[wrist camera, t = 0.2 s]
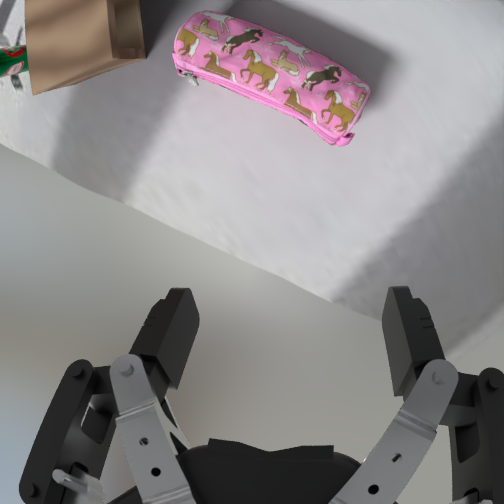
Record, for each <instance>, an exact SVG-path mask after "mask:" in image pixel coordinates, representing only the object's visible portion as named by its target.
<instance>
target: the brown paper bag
mask: <svg viewBox="0 0 504 504" xmlns="http://www.w3.org/2000/svg"><path fill="white" fill-rule="evenodd" d="M25 32H26V46H27V57H28V66H29V74H30V81H31V87H32V93H33V96H34V95H37V94H40V93H42V92H46V91H50V90H53V89H57V88H62V87H66V86H70V85H75V84H78V83H80V82H82V81H85V80H87V79H89V78H92V77H94V76H97V75H100V74H102V73H105V72H108V71H110V70H113V69H116V68H119V67H122V66H125V65H128V64H131V63H134V62H137V61H140V60H144V59H146V53H145V45H144V38H143V30H142V21H141V12H140V2H139V0H25Z"/></svg>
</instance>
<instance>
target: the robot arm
mask: <svg viewBox="0 0 504 504" xmlns="http://www.w3.org/2000/svg"><path fill="white" fill-rule="evenodd" d="M198 327H199V313H198V310H197V307H196V304H195V301H194V298H193V295H192V292H191V290H190V289H189V288H171V289H170V291H169V293H168V295H167V296H166V298H165V299H160V300H159V301H158V302H157V303H156V304H155V305H154V306H153V307H152V309H151V311H150V312H149V315H148V316H147V318H146V320H145V322H144V326H142V328H141V330H140V332H139V334H138V336H137V338H136V340H135V342H134V344H133V346H132V348H131V350H130V352H129V354H125V355H122V356H120V357H118V358H117V359H116V360H115V361H114V362H113V363H112V365H111V366H103V367H93V366H92V364H91V363H90V362H89V361H87V360H84V359H81V360H77V361H75V362H73V363H72V364H71V365H70V366H69V367H68V368H67V370H66V372H65V374H64V376H63V378H62V380H61V382H60V384H59V386H58V389H57V390H56V393H55V395H54V397H53V399H52V401H51V404H50V406H49V408H48V410H47V412H46V415H45V417H44V419H43V422H42V424H41V426H40V429H39V431H38V434H37V436H36V439H35V441H34V444H33V446H32V449H31V452H30V454H29V457H28V460H27V463H26V465H25V468H24V471H23V474H22V477H21V480H20V483H19V493H20V496H21V499H22V500H23V501H24V503H26V504H104V502H103V500H104V499H105V496H106V495H105V492H104V491H103V487H102V484H101V482H100V481H99V480H100V477H101V473H102V470H103V467H104V463H105V460H106V457H107V453H108V450H109V447H110V444H111V441H112V438H113V434H114V432H115V429H116V426H117V428H118V432H119V435H120V439H121V442H122V445H123V449H124V451H125V455H126V458H127V460H128V464H129V466H130V469H131V472H132V475H133V477H134V480H135V483H136V486H134V487H133V488H131V489H130V490H128V491H127V492H125V493H124V494H122V495H120V496H119V497H117V498H116V499H114V500H112V501H111V502H109V503H107V504H398V503H397V502H396V501H395V500H396V499H397V498H398V496H399V495H400V493H401V492H402V491H403V489H404V488H405V486H406V485H407V483H408V482H409V480H410V479H411V477H412V476H413V474H414V473H415V471H416V470H417V468H418V466H419V465H420V463H421V462H422V460H423V458H424V456H425V455H426V453H427V451H428V450H429V448H430V446H431V444H432V443H433V440H434V439H435V437H436V434H437V432H436V429H437V426H438V424H439V425H446V426H448V427H449V435H450V446H451V461H452V485H453V486H452V491H453V495H452V496H453V498H452V502H451V503H450V504H504V374H503V373H502V372H501V371H500V370H498V369H496V368H486V369H484V370H483V371H482V372H481V373H480V375H479V376H477V375H471V374H464V373H460V372H458V371H457V370H456V368H455V367H454V365H453V364H451V363H450V362H448V361H446V359H445V357H444V354H443V350H442V347H441V344H440V341H439V338H438V335H437V332H436V329H435V328H434V323H433V321H432V319H431V315H430V312H429V310H428V307H427V306H426V305H425V304H424V303H423V302H422V300H421V299H420V298H414V299H413V298H412V295H411V292H410V289H409V287H408V286H392V287H389V289H388V293H387V297H386V301H385V306H384V310H383V314H382V328H383V334H384V338H385V343H386V349H387V354H388V360H389V366H390V371H391V378H392V383H393V391H394V396H403V400H404V403H403V405H402V407H401V408H400V410H399V411H398V413H397V415H396V416H395V418H394V419H393V421H392V422H391V424H390V425H389V427H388V428H387V430H386V431H385V433H384V434H383V436H382V437H381V438H380V440H379V441H378V443H377V444H376V445H375V447H374V448H373V449H372V451H371V452H370V453H369V455H368V456H367V457H366V458H365V460H364V461H363V462H362V464H360V463H359V462H358V461H356V460H355V459H353V458H351V457H349V456H347V455H344V454H341V453H338V452H333V450H334V446H333V445H327V446H299V447H294V448H289V449H284V450H278V451H271V452H268V451H264V450H261V449H258V448H255V447H252V446H249V445H246V444H243V443H240V442H235V441H226V440H218V439H212V438H210V439H209V442H208V445H202V446H198V447H194V448H191V446H190V445H189V443H188V441H187V440H186V438H185V437H184V435H183V433H182V432H181V430H180V428H179V425H178V423H177V421H176V419H175V416H174V414H173V412H172V409H171V407H170V405H169V403H168V400H167V398H166V396H165V394H166V391H167V389H173V390H177V388H178V385H179V383H180V380H181V376H182V374H183V371H184V368H185V365H186V362H187V359H188V356H189V353H190V351H191V348H192V345H193V342H194V339H195V336H196V334H197V331H198ZM88 405H89V409H88V411H87V414H86V417H85V419H84V422H83V425H82V427H81V422H82V419H83V417H84V414H85V412H86V409H87V407H88Z"/></svg>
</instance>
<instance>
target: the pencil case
mask: <svg viewBox="0 0 504 504" xmlns="http://www.w3.org/2000/svg"><path fill="white" fill-rule="evenodd" d="M172 54H173V58H174V62H175V66H176V68H177V73H178V74H179V75H180V76H182V77H185V78H188V80H189V81H190V82H191V84H192V85H193V86H198V85H199V84H198V83H197V80H196V79H197V78H201V79H204V80H207V81H209V82H212V83H214V84H218V85H220V86H222V87H224V88H227V89H229V90H231V91H233V92H235V93H237V94H240V95H243V96H244V97H247V98H250V99H252V100H254V101H257V102H260V103H262V104H264V105H267V106H269V107H271V108H273V109H275V110H277V111H280V112H282V113H285V114H286V115H290V116H292V117H294V118H297V119H298V120H300V121H301V122H302V123H304V124H305V125H307V126H308V127H310V128H311V129H312V130H314V131H315V132H316V133H317V134H318V135H319V136H320V137H321V138H322V139H323V140H324V141H326V142H327V143H328V144H330V145H337V146H345V145H347V144H349V143H350V141H351V140H352V138H353V137H354V135H355V134H354V133H349V131H350V130H351V129H352V127H353V126H354V125H355V124H356V123H357V122H358V121H359V119H360V117H361V114H362V111H363V108H364V106H365V104H366V102H367V100H368V98H369V96H370V93H371V88H370V86H369V85H368V83H366V82H365V81H363V80H360V79H359V78H358V76H357V75H355V74H352V73H351V72H349V71H348V70H347V69H346V68H345V67H343V66H341V65H339V64H337V63H335V62H333V61H332V60H330V59H329V58H327V57H325V56H324V55H321V54H319V53H317V52H315V51H313V50H311V49H309V48H307V47H305V46H303V45H301V44H299V43H298V42H296V41H295V40H293V39H291V38H289V37H286V36H284V35H281V34H279V33H276V32H273V31H270V30H268V29H266V28H263V27H261V26H259V25H256V24H253V23H250V22H248V21H244V20H241V19H238V18H235V17H232V16H228V15H225V14H222V13H219V12H215V11H208V10H205V11H202V12H198V13H196V14H194V15H192V16H191V17H190V18H189V19H188V20H187V21H186V22H185V23H184V24H183V25H182V26H181V27H180V29H179V30H178V32H177V35H176V37H175V42H174V48H173V53H172ZM348 133H349V134H348Z"/></svg>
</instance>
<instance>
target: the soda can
mask: <svg viewBox="0 0 504 504" xmlns="http://www.w3.org/2000/svg"><path fill="white" fill-rule="evenodd" d="M26 71H29V66H28V57H27V46H26V45H19V46H12V47H6V48H0V78H1V77H5V76H9V75H13V74H17V73H21V72H26Z"/></svg>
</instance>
